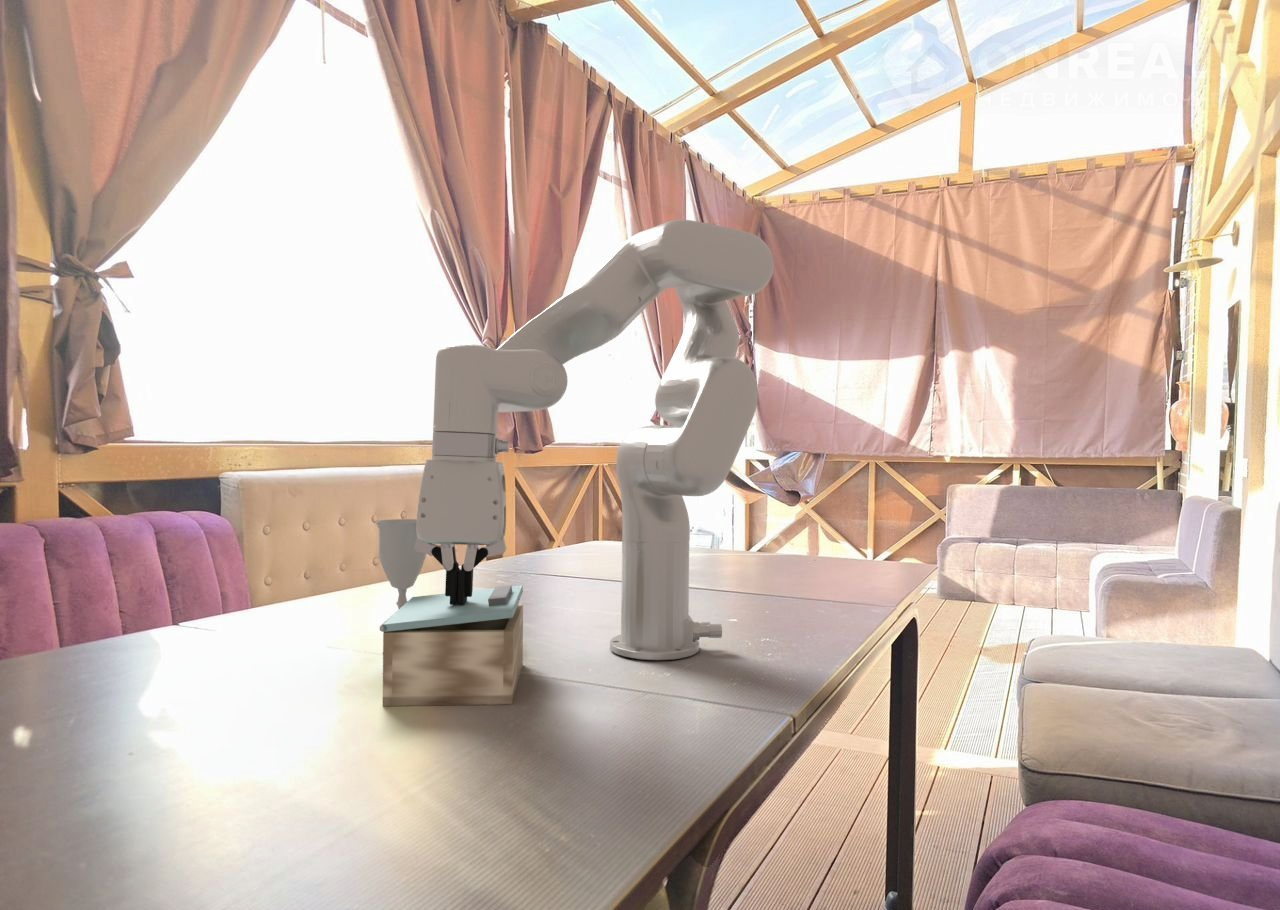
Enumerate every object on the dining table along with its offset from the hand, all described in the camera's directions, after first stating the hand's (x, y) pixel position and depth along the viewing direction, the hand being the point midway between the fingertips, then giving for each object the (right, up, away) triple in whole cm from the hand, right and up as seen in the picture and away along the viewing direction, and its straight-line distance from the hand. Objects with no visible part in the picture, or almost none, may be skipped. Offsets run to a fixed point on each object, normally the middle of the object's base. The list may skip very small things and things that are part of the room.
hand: (458, 602), depth 94 cm
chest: (0, -10, +1) cm, 10 cm away
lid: (0, -1, 0) cm, 1 cm away
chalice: (-11, -10, +15) cm, 21 cm away
